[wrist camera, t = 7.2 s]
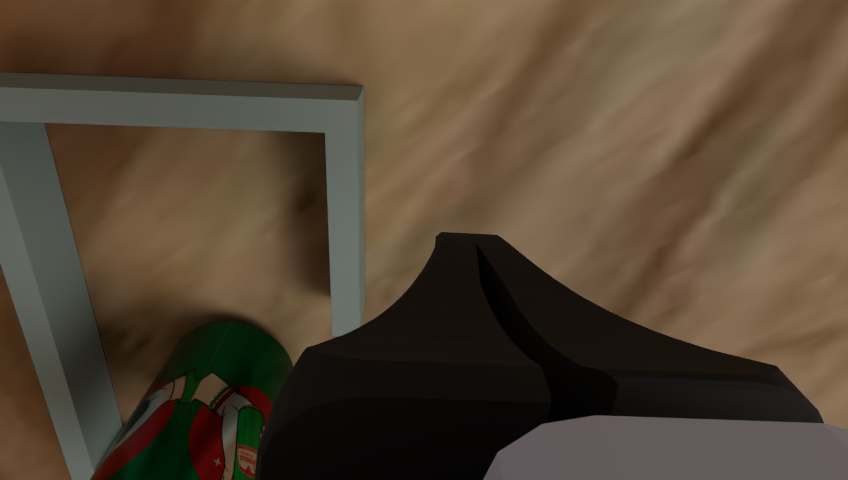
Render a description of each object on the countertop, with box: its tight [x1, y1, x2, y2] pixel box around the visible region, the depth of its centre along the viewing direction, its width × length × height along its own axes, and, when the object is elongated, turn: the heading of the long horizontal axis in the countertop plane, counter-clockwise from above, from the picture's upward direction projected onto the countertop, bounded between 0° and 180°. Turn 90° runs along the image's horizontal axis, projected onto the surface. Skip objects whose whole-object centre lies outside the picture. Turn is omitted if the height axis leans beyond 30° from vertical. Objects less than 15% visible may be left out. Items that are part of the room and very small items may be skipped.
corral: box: [0, 72, 365, 480], centre depth 22 cm, size 24×12×2 cm, turn 178°
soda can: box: [90, 322, 293, 480], centre depth 18 cm, size 5×5×12 cm
